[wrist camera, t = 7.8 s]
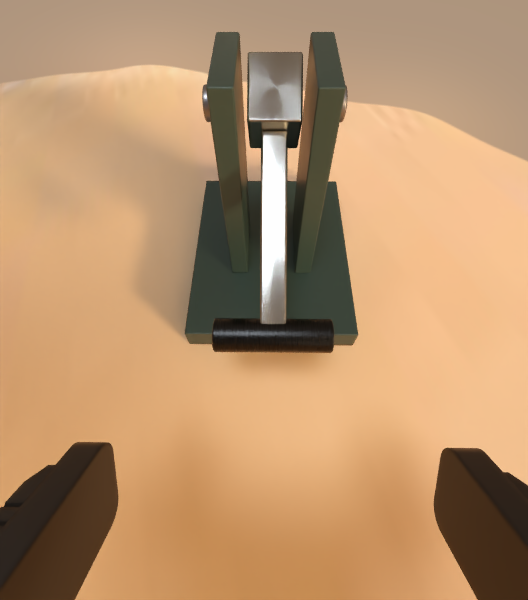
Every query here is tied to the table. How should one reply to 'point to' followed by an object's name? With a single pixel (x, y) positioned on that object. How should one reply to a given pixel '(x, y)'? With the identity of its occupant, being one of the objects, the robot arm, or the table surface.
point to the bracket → (247, 204)
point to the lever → (273, 213)
